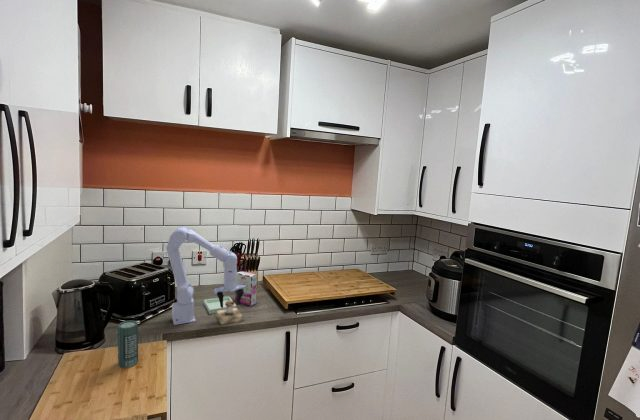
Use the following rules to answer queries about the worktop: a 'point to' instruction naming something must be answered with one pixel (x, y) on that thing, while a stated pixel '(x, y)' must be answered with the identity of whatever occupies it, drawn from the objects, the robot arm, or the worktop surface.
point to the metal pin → (229, 307)
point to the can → (127, 344)
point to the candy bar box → (247, 287)
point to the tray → (216, 304)
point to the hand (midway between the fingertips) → (229, 305)
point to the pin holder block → (229, 316)
